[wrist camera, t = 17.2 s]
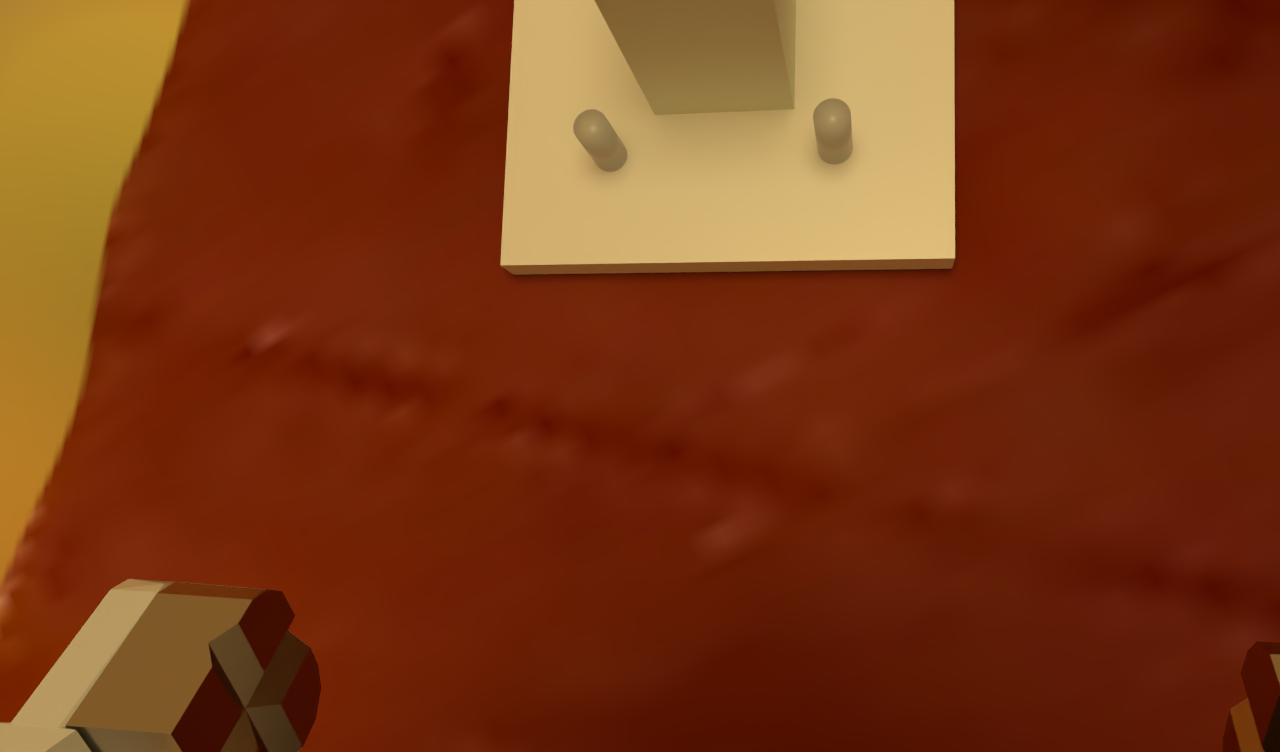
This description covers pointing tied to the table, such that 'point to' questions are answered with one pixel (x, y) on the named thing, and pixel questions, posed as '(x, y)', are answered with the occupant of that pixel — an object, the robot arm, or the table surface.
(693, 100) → the beige rectangular block
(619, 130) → the pin plate
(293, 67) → the table surface
